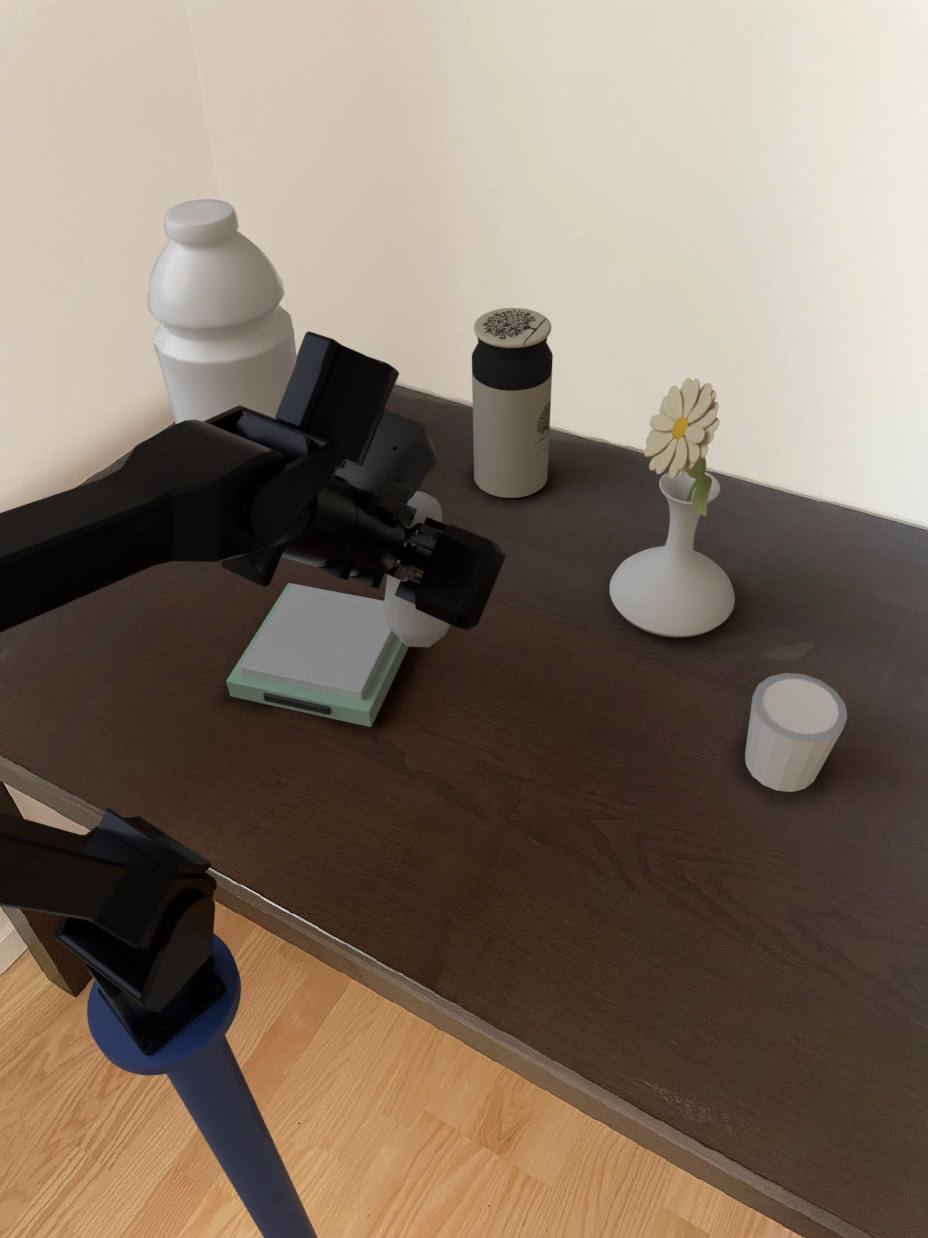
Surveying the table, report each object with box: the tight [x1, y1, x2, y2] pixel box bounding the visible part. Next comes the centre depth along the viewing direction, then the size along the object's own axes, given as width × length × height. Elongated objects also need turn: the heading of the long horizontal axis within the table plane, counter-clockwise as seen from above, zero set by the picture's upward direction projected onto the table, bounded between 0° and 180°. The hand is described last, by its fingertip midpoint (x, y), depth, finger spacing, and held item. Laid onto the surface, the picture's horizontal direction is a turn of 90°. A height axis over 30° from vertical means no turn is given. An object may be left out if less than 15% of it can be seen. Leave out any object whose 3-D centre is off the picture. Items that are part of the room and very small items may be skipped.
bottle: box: [146, 198, 298, 424], centre depth 99 cm, size 14×14×28 cm
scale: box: [225, 582, 410, 728], centre depth 86 cm, size 13×13×3 cm
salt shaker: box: [383, 490, 452, 648], centre depth 75 cm, size 6×6×13 cm
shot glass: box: [744, 672, 849, 793], centre depth 75 cm, size 7×7×7 cm
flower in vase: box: [609, 377, 736, 638], centre depth 82 cm, size 13×11×25 cm
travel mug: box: [471, 307, 554, 499], centre depth 100 cm, size 8×8×18 cm
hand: (426, 560), depth 76 cm, fingers closed on salt shaker, 3 cm apart
